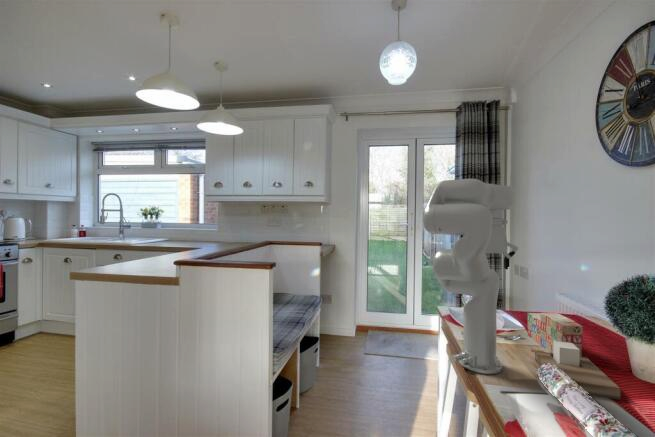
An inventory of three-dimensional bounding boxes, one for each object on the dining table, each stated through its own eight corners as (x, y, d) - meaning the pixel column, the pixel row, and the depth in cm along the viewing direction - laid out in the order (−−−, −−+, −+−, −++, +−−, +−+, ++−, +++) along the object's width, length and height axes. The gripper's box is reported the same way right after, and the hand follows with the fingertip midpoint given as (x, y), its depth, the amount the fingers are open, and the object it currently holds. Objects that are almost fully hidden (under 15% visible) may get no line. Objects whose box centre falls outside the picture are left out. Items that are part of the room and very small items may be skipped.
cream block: (579, 372, 90) (579, 349, 90) (559, 369, 91) (559, 347, 91) (572, 364, 94) (572, 343, 94) (553, 362, 96) (553, 340, 96)
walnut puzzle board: (620, 399, 78) (620, 388, 78) (556, 389, 83) (556, 378, 83) (586, 366, 95) (586, 357, 95) (535, 359, 100) (535, 350, 99)
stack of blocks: (526, 335, 120) (527, 305, 120) (543, 336, 119) (543, 305, 119) (561, 361, 99) (562, 324, 99) (582, 362, 98) (582, 325, 98)
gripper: (515, 223, 114) (514, 267, 114) (465, 222, 120) (465, 265, 120) (520, 223, 107) (520, 271, 107) (467, 223, 113) (467, 268, 113)
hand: (491, 268), depth 113 cm, fingers open, 9 cm apart
